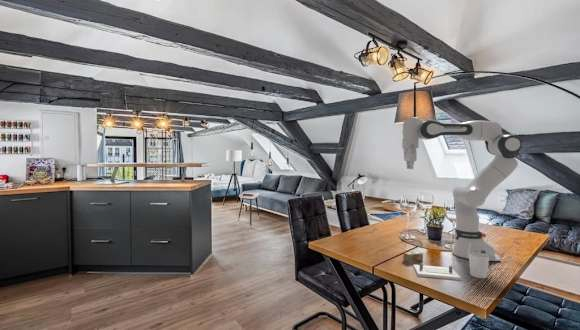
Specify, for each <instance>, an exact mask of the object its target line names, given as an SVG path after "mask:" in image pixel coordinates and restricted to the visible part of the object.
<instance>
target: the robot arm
mask: <svg viewBox="0 0 580 330" xmlns="http://www.w3.org/2000/svg"><path fill="white" fill-rule="evenodd" d="M502 130H503V129H502V124H500V123H499V122H497V121H493V120H492V121H490V120H469V121H465V122H460V123H442V122H440V121H437V120H434V119H429V120H426V121H424V120H423V119H420V118H419V117H417V116H412V117H408V118H406V119H405V120H403V124H402V140H401V141H402V143H401V147H402V149H403V160H404V161H405V162H406V163H405V164H406V169H409V170H414V166H415V162H417V154H418V153H417V149H419V147H420V142H419V141H420V140H431V139H435V138H438V137H440V136H441V137H442V136H458V137H460V138H461V139H463V140H466V141H473V142H474V141H476V142H477V141H480V142H481V141H484V143H485V148H486V151H487V152H488V153H489V154H491V155H493V156H494V158H493V159H492V161H490V162H489V163H488V164H487V165H485V166H484V167H483V168H482V169H481V170H479V171H478V173H476V175H475V176H474V178H473V179H472V181H471V182H470V183H469V184H468V185H467V184H461V185H458V186H456V187H454V189H453V191H452V197H453V201H454V202H453V203H454V209H455V228H454V243H453V248H452V251H451V253H452V255H454V256H455V257H459V258H460V257H461V258H463V259H467V260H469V253H470V252H479V253H484V254H487V255H488V256H489V262H492V261H493V262H500V261H501V257H500V256H499V255H498V254H496V251H495V248H494V246H493V244H491V243H489V242H488V241H487V240H486V239H484V238H486V236H487V234H486V233H484V232H482V231H480V216H479V213H478V210H477V209H478V208H479V207H481V206H483V205H484V204H485V202H486V199H487V198H488V196H489V195H490V194H491V192H492V191H493V190H494V189H495V188H496V187H497V186H499V185H500V184H501V183H502V182H504V181H505V180H506V179H507V178H509V176H510V175H511V174H513V172H514V171H515V170H516V169H517V167H518V160H517V159H516V158H517V157H518V155H519V154H520V151H521V149H522V148H523V140H522V138H520V137H519V136H518V135H514V134H504V133H503V131H502ZM477 207H478V208H477Z"/></svg>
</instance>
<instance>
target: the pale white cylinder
mask: <svg viewBox="0 0 580 330" xmlns="http://www.w3.org/2000/svg"><path fill="white" fill-rule="evenodd" d="M468 261H469V262H468V263H469V275H470V276H471V277H474V278H477V279H487V277H488V273H489V272H488V271H489V262H490V261H489V256H488V255H487V254H484V253H479V252H470V253H469V259H468Z"/></svg>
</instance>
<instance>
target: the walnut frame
mask: <svg viewBox="0 0 580 330" xmlns="http://www.w3.org/2000/svg"><path fill="white" fill-rule="evenodd" d="M402 259H403V260H402V261H403V262H404V263H406V264H407V265H408V264H418V263H419V264H420V263H423V261H424V253H422V252H421V251H416V250H415V251H408V252H407V251H406V252H403V258H402Z"/></svg>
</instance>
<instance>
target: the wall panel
mask: <svg viewBox="0 0 580 330" xmlns="http://www.w3.org/2000/svg"><path fill="white" fill-rule="evenodd" d="M412 264H413V268H414V271H415V272H416V275H417V277H424V278H425V277H426V278H435V279H445V280H454V281H455V280H456V281H461V280H462V277H461V276H460V275H459V274H458V273H457V271H456V270H455V268H453V266H452V265H449V266H436V265H435V266H434V265H425V264H423V263H422V262H419V264H415V263H412Z"/></svg>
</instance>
